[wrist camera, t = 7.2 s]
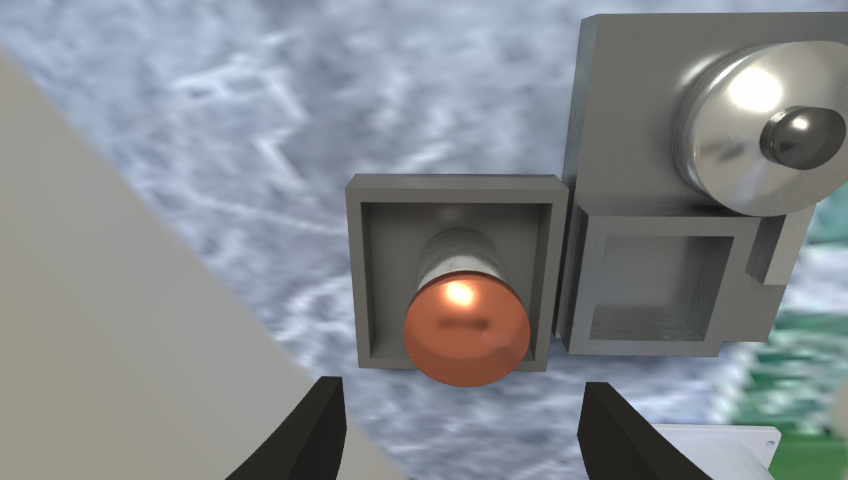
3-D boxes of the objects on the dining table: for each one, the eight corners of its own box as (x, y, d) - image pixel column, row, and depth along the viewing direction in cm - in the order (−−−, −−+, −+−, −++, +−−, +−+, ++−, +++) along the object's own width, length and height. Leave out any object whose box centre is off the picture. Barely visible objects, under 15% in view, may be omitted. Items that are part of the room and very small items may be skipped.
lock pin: (503, 305, 22) (525, 387, 16) (414, 305, 22) (405, 385, 17) (509, 221, 20) (536, 280, 15) (411, 221, 20) (401, 280, 15)
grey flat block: (739, 318, 22) (817, 385, 18) (545, 315, 23) (572, 380, 18) (836, 17, 17) (984, -1, 12) (581, 19, 17) (633, 3, 13)
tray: (535, 341, 23) (545, 371, 21) (366, 338, 24) (358, 367, 21) (554, 174, 20) (569, 189, 17) (355, 173, 20) (345, 188, 18)
